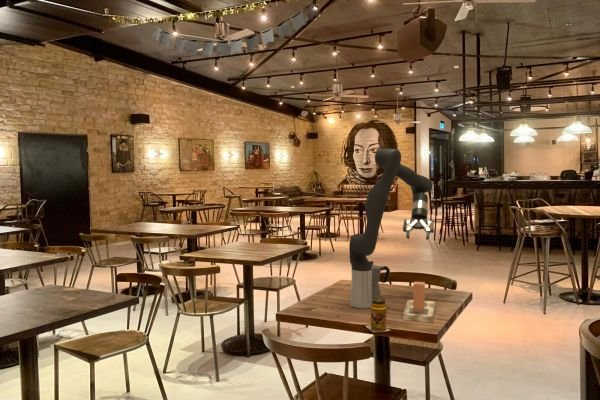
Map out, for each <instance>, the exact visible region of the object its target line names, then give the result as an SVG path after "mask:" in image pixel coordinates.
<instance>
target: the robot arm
mask: <svg viewBox="0 0 600 400" xmlns="http://www.w3.org/2000/svg"><path fill="white" fill-rule="evenodd" d="M401 161H402V153H401V151H400V150H399V149H397V148H380V149H378V150H377V151H376V153H375V154H374V162H375V164H376V166H377V167H378V168H380V169H381V168H382V169H384V170H383V173H382V175H381V176H380V178H379V179H378V180H377V181H376V183H375V184H374V185H373V186H372V187H371V188H370V190H369V191H368V194H367V196H366V201H365V204H364V209H365V210H364V211H365V216H366V217H365V218H366V226H365V230H364V233H363V234H362V233H355V234H353V235H352V236H351V237H350V239H349V244H348V245H349V249H348V250H349V262H350V265H351V266H350V267H351V285H350V301H349V302H350V307H351V308H356V309H371V306H372V264H371V263H370V260H369V259H368V258H367V257H369V256H371V255H372V254H373V253H374V252H375V249H376V245H377V243H378V237H379V231H380V228H381V227H380V226H381V223H382V219H383V216H384V213H385V209H386V206H387V204H388V203H387V202H388V199H389V195H390V193H391V189H392V186H393V183H394V181H395V178H396V177H397V178H399V179H400V180H402V181H403V183H404V184H406V185H408V186H409V187H410V190H411V193H412V198H413V199H412V207H411V214H410V215H411V216H410V217H411V218H410V219H407V218H404V220H403V225H402V231H403V233H405V237H406V239H407V240H410V233H411V232H412V231H413V230H421V231H422V230H423V231H424V232H426V233H425V234H426V235H425V240H426V241H427V240H429V239H430V235H431V234H434V232H435V231H434V230H435V226H434V221H435V220H434V219H431V220H428V213H429V211H428V210H429V207H428V204H429V203H428V202H429V198H428V195H427V194H426V193H429V192H431V191H432V190H433V183H432V180H431V179H430V178H428V177H426V176H424V175H421V174H418V173H417V172H416V171H415V170H413V169H412V168H410V167H408V166H406V165H404V164H401V163H402V162H401ZM408 225H409V226H408ZM428 225H429V226H430V228H429V227H428ZM407 226H408V227H407Z"/></svg>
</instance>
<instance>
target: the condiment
mask: <svg viewBox="0 0 600 400" xmlns="http://www.w3.org/2000/svg"><path fill="white" fill-rule="evenodd" d="M365 327H366V328H367V329H368V330H370V331H371V332H372V333H382V332H389V331H391V329H390V328H387V307H386V300H385V299H384V298H379V299H378V298H377V299H373V300H372V306H371V307H370V324H369V325H365Z"/></svg>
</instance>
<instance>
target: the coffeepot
mask: <svg viewBox="0 0 600 400" xmlns="http://www.w3.org/2000/svg"><path fill="white" fill-rule="evenodd" d="M369 262H370V263H371V264H372V300H373V299H377V298H378V299H381V298H382V294H381V293H382V292H381V288H380V284H379V281H380V278H381V273H382V271H385V276H384V277H383V280H381V281H380V282H381V283H382V284H384V283H387V280H388V278H389V275H390V272H391V269H390V268H389V267H388V266H386V265H382V266H381V265H376V264H374V261H373V260H369Z"/></svg>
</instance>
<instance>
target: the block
mask: <svg viewBox="0 0 600 400" xmlns="http://www.w3.org/2000/svg"><path fill="white" fill-rule="evenodd" d="M412 285H413V287H412V292H413V293H412V294H413V295H412V300H413V312H422V313H424V305H425V301H426V300H425V298H426V297H425V292H426V289H425V287H426V282H424V281H414V282H413V284H412Z"/></svg>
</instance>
